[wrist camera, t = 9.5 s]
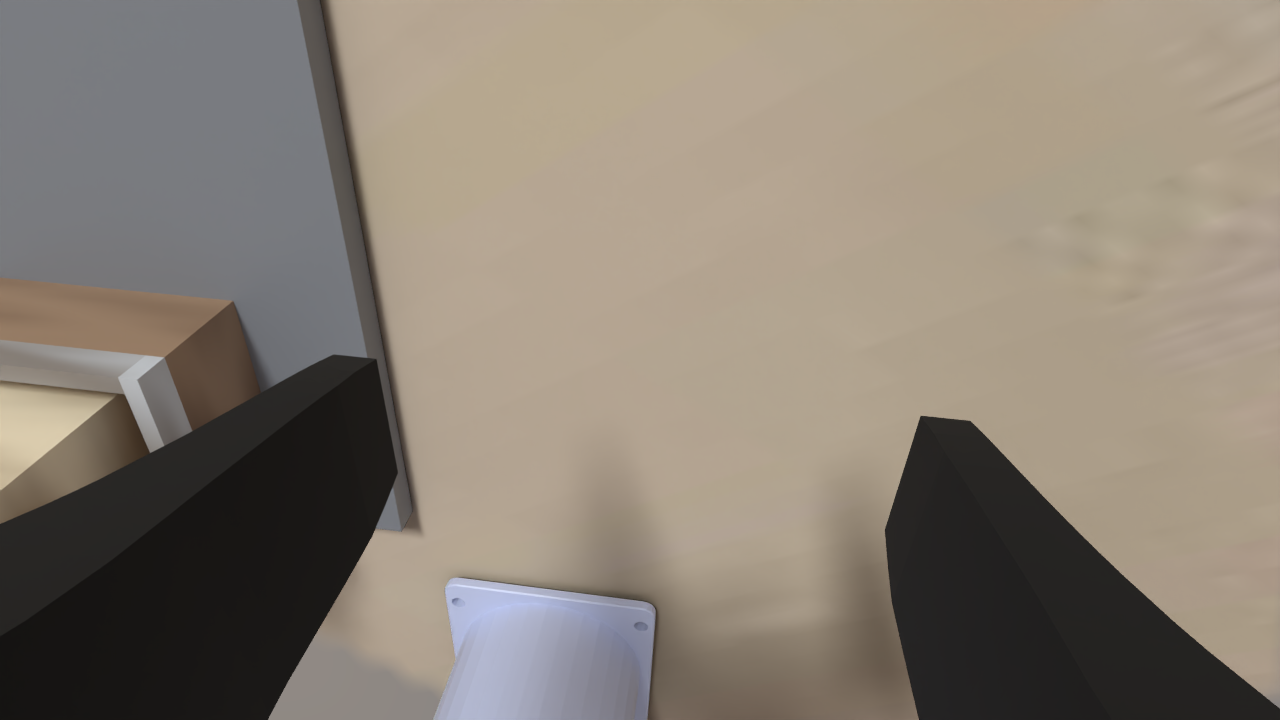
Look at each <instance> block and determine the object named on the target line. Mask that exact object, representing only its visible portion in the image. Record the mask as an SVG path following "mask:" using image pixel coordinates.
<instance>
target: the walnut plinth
mask: <svg viewBox="0 0 1280 720" xmlns="http://www.w3.org/2000/svg"><path fill="white" fill-rule="evenodd" d="M0 380H2V381H11V382H20V383H29V384H38V385H47V386H56V387H65V388H73V389H82V390H91V391H100V392H109V393H118V394H124V395H125V397H126V400H127V402H128V404H129V406H130V409H131V411H132V413H133V415H134V418H135V420H136V422H137V424H138V427H139V429H140V431H141V434H142V436H143V438H144V440H145V443H146V445H147V447H148V449H149V452H150V453H151V452H153V451H155V450H157V449H159V448H161V447H163V446H165V445H167V444H169V443H171V442H173V441H175V440H177V439H179V438H180V437H182V436H184V435H186V434H188V433H190V432H192V431H193V430H195V429H197V428H199V427H201V426H202V425H204V424H206V423H208V422H210V421H211V420H213V419H215V418H217V417H219V416H220V415H222V414H224V413H226V412H228V411H229V410H231V409H233V408H235V407H237V406H238V405H240V404H242V403H244V402H246V401H247V400H249V399H251V398H253V397H254V396H256V395H258V394H260V393H261V391H260V388H259V385H258V381H257V378H256V375H255V371H254V368H253V365H252V361H251V358H250V355H249V351H248V348H247V345H246V342H245V338H244V335H243V332H242V328H241V325H240V322H239V318H238V315H237V312H236V308H235V305H234V302H233V301H230V300H220V299H210V298H200V297H190V296H180V295H170V294H160V293H150V292H140V291H130V290H120V289H110V288H100V287H90V286H80V285H70V284H60V283H50V282H40V281H30V280H19V279H9V278H0Z"/></svg>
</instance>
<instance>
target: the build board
mask: <svg viewBox="0 0 1280 720" xmlns="http://www.w3.org/2000/svg"><path fill="white" fill-rule="evenodd" d="M0 278H9V279H19V280H30V281H40V282H50V283H60V284H70V285H80V286H90V287H100V288H110V289H120V290H130V291H140V292H150V293H160V294H170V295H180V296H190V297H200V298H210V299H220V300H230V301H233V302H234V305H235V308H236V312H237V315H238V318H239V322H240V325H241V328H242V332H243V335H244V338H245V342H246V345H247V348H248V351H249V355H250V358H251V361H252V365H253V368H254V371H255V375H256V378H257V381H258V385H259V388H260V391H261V393H262V392H263V391H265V390H267V389H269V388H270V387H272V386H274V385H276V384H278V383H279V382H281V381H283V380H285V379H286V378H288V377H290V376H292V375H294V374H296V373H297V372H299V371H301V370H303V369H305V368H307V367H309V366H311V365H313V364H315V363H317V362H318V361H321V360H323V359H325V358H327V357H329V356H331V355H333V354H335V355H345V356H354V357H364V358H373V359H377V364H378V369H379V374H380V380H381V385H382V390H383V395H384V401H385V406H386V411H387V417H388V422H389V427H390V432H391V438H392V443H393V448H394V454H395V459H396V464H397V469H398V474H397V477H396V479H395V482H394V485H393V487H392V490H391V492H390V495H389V497H388V500H387V502H386V505H385V507H384V510H383V512H382V514H381V517H380V519H379V521H378V524H377V526H376V528H377V529H385V530H393V531H401V532H402V530H403V528H404V526H405V525H406V523H407V521H408V519H409V517H410V515H411V513H412V511H413V510H412V505H411V499H410V494H409V488H408V483H407V477H406V472H405V466H404V461H403V455H402V450H401V444H400V439H399V433H398V428H397V422H396V417H395V411H394V406H393V400H392V395H391V389H390V383H389V378H388V372H387V367H386V361H385V356H384V350H383V345H382V339H381V334H380V328H379V323H378V317H377V312H376V306H375V301H374V295H373V290H372V284H371V279H370V273H369V268H368V262H367V257H366V251H365V246H364V240H363V235H362V229H361V224H360V218H359V213H358V207H357V202H356V196H355V191H354V185H353V180H352V174H351V169H350V163H349V158H348V152H347V147H346V141H345V136H344V130H343V125H342V119H341V114H340V108H339V103H338V97H337V92H336V86H335V81H334V75H333V70H332V64H331V59H330V53H329V48H328V42H327V37H326V31H325V26H324V20H323V15H322V9H321V4H320V0H0Z"/></svg>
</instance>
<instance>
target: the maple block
mask: <svg viewBox="0 0 1280 720" xmlns="http://www.w3.org/2000/svg"><path fill="white" fill-rule="evenodd" d="M149 453H150V452H149V449H148V447H147V445H146V443H145V440H144V438H143V436H142V434H141V431H140V429H139V427H138V424H137V422H136V420H135V418H134V415H133V413H132V411H131V409H130V406H129V404H128V402H127V400H126V397H125V395H124V394H118V393H109V392H100V391H91V390H82V389H73V388H65V387H56V386H47V385H38V384H29V383H20V382H11V381H2V380H0V524H1V523H4V522H6V521H8V520H10V519H13V518H15V517H17V516H20V515H22V514H24V513H27V512H29V511H31V510H34V509H36V508H38V507H41V506H43V505H45V504H47V503H50V502H52V501H54V500H56V499H58V498H61V497H63V496H65V495H67V494H69V493H71V492H74V491H76V490H78V489H80V488H82V487H84V486H86V485H88V484H90V483H92V482H95V481H97V480H99V479H101V478H103V477H105V476H107V475H109V474H110V473H112V472H114V471H116V470H118V469H120V468H122V467H124V466H126V465H128V464H130V463H132V462H134V461H136V460H138V459H140V458H142V457H144V456H145V455H147V454H149Z"/></svg>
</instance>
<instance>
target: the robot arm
mask: <svg viewBox="0 0 1280 720" xmlns="http://www.w3.org/2000/svg"><path fill="white" fill-rule="evenodd" d="M397 474H398V469H397V464H396V459H395V454H394V448H393V443H392V438H391V432H390V427H389V422H388V417H387V411H386V406H385V401H384V395H383V390H382V385H381V380H380V374H379V369H378V364H377V359H373V358H364V357H354V356H345V355H335V354H333V355H331V356H329V357H327V358H325V359H323V360H321V361H318V362H317V363H315V364H313V365H311V366H309V367H307V368H305V369H303V370H301V371H299V372H297V373H296V374H294V375H292V376H290V377H288V378H286V379H285V380H283V381H281V382H279V383H278V384H276V385H274V386H272V387H270V388H269V389H267V390H265V391H263V392H262V393H260V394H258V395H256V396H254V397H253V398H251V399H249V400H247V401H246V402H244V403H242V404H240V405H238V406H237V407H235V408H233V409H231V410H229V411H228V412H226V413H224V414H222V415H220V416H219V417H217V418H215V419H213V420H211V421H210V422H208V423H206V424H204V425H202V426H201V427H199V428H197V429H195V430H193V431H192V432H190V433H188V434H186V435H184V436H182V437H180V438H179V439H177V440H175V441H173V442H171V443H169V444H167V445H165V446H163V447H161V448H159V449H157V450H155V451H153V452H151V453H149V454H147V455H145V456H144V457H142V458H140V459H138V460H136V461H134V462H132V463H130V464H128V465H126V466H124V467H122V468H120V469H118V470H116V471H114V472H112V473H110V474H109V475H107V476H105V477H103V478H101V479H99V480H97V481H95V482H92V483H90V484H88V485H86V486H84V487H82V488H80V489H78V490H76V491H74V492H71V493H69V494H67V495H65V496H63V497H61V498H58V499H56V500H54V501H52V502H50V503H47V504H45V505H43V506H41V507H38V508H36V509H34V510H31V511H29V512H27V513H24V514H22V515H20V516H17V517H15V518H13V519H10V520H8V521H6V522H4V523H1V524H0V720H268V718H269V716H270V714H271V712H272V711H273V709H274V707H275V705H276V703H277V701H278V699H279V697H280V696H281V694H282V692H283V690H284V688H285V686H286V684H287V682H288V680H289V679H290V677H291V676H292V673H293V672H294V670H295V669H296V667H297V665H298V663H299V662H300V660H301V658H302V657H303V655H304V653H305V652H306V650H307V648H308V646H309V645H310V643H311V641H312V640H313V638H314V636H315V635H316V633H317V631H318V629H319V628H320V626H321V624H322V623H323V621H324V619H325V617H326V616H327V614H328V612H329V611H330V609H331V607H332V605H333V604H334V602H335V600H336V599H337V597H338V595H339V594H340V592H341V590H342V588H343V587H344V585H345V583H346V581H347V580H348V578H349V576H350V574H351V573H352V571H353V569H354V568H355V566H356V564H357V562H358V561H359V559H360V557H361V555H362V554H363V552H364V550H365V548H366V546H367V545H368V543H369V541H370V539H371V537H372V535H373V533H374V531H375V528H376V526H377V524H378V521H379V519H380V517H381V514H382V512H383V510H384V507H385V505H386V502H387V500H388V497H389V495H390V492H391V490H392V487H393V485H394V482H395V479H396V477H397ZM885 537H886V548H887V560H888V571H889V580H890V589H891V598H892V604H893V609H894V613H895V618H896V623H897V627H898V631H899V636H900V640H901V645H902V649H903V653H904V658H905V662H906V666H907V671H908V675H909V679H910V683H911V688H912V692H913V696H914V700H915V705H916V709H917V713H918V717H919V720H1280V709H1279V708H1278V707H1277V706H1276V705H1274V704H1273V703H1272V702H1271V701H1270V700H1268V699H1267V698H1266V697H1265V696H1263V695H1262V694H1261V693H1260V692H1258V691H1257V690H1256V689H1255V688H1253V687H1252V686H1251V685H1250V684H1248V683H1247V682H1246V681H1245V680H1243V679H1242V678H1241V677H1240V676H1238V675H1237V674H1236V673H1235V672H1234V671H1232V670H1231V669H1230V668H1229V667H1227V666H1226V665H1225V664H1224V663H1222V662H1221V661H1220V660H1219V659H1217V658H1216V657H1215V656H1214V655H1212V654H1211V653H1210V652H1209V651H1207V650H1206V649H1205V648H1204V647H1203V646H1202V645H1200V644H1199V643H1198V642H1197V641H1196V640H1195V639H1193V638H1192V637H1191V636H1190V635H1189V634H1188V633H1186V632H1185V631H1184V630H1183V629H1182V628H1181V627H1179V626H1178V625H1177V624H1176V623H1175V622H1174V621H1172V620H1171V619H1170V618H1169V617H1168V616H1167V615H1166V614H1165V613H1164V612H1163V611H1161V610H1160V609H1159V608H1158V607H1157V606H1156V605H1155V604H1154V603H1153V602H1152V601H1150V600H1149V599H1148V598H1147V597H1146V596H1145V595H1144V594H1143V593H1142V592H1141V591H1139V590H1138V589H1137V588H1136V587H1135V586H1134V585H1133V584H1132V583H1131V582H1130V581H1128V580H1127V579H1126V578H1125V577H1124V576H1123V575H1122V574H1121V573H1120V572H1119V571H1118V570H1117V569H1116V568H1115V567H1114V566H1113V565H1111V564H1110V563H1109V562H1108V561H1107V560H1106V559H1105V558H1104V557H1103V556H1102V555H1101V554H1100V553H1099V552H1098V551H1097V550H1096V549H1095V548H1094V547H1093V546H1092V545H1091V544H1090V543H1089V542H1088V541H1087V540H1086V539H1085V538H1084V537H1083V536H1082V535H1081V534H1080V533H1079V532H1078V531H1077V530H1076V529H1075V528H1074V527H1073V526H1072V525H1071V524H1070V523H1069V522H1068V521H1067V520H1066V519H1065V518H1064V517H1063V516H1062V515H1061V514H1060V513H1059V512H1058V511H1057V510H1056V509H1055V508H1054V507H1053V506H1052V505H1051V504H1050V503H1049V502H1048V501H1047V500H1046V499H1045V498H1044V497H1043V496H1042V495H1041V494H1040V493H1039V492H1038V490H1037V489H1036V488H1035V487H1034V486H1033V485H1032V484H1031V483H1030V482H1029V481H1028V480H1027V479H1026V478H1025V477H1024V476H1023V475H1022V474H1021V473H1020V472H1019V471H1018V470H1017V468H1016V467H1015V466H1014V465H1013V464H1012V463H1011V462H1010V461H1009V460H1008V459H1007V458H1006V457H1005V456H1004V455H1003V454H1002V453H1001V452H1000V451H999V450H998V448H997V447H996V446H995V445H994V444H993V443H992V442H991V441H990V440H989V439H988V438H987V437H986V436H985V435H984V434H983V433H982V432H981V431H980V430H979V429H978V428H977V427H976V426H975V425H974V424H973V423H972V422H971V421H965V420H956V419H946V418H937V417H927V416H921V417H920V420H919V423H918V426H917V429H916V433H915V436H914V439H913V442H912V445H911V448H910V452H909V455H908V458H907V461H906V464H905V468H904V471H903V474H902V477H901V480H900V484H899V487H898V490H897V493H896V496H895V499H894V503H893V506H892V509H891V512H890V515H889V519H888V522H887V525H886V528H885ZM445 595H446V602H447V608H448V614H449V620H450V626H451V633H452V639H453V645H454V651H455V657H456V661H455V663H454V666H453V668H452V671H451V674H450V676H449V679H448V682H447V684H446V687H445V690H444V692H443V695H442V698H441V700H440V703H439V706H438V708H437V711H436V714H435V717H434V719H433V720H647V719H648V706H649V693H650V681H651V668H652V655H653V642H654V630H655V617H656V610H655V608H654V607H653V605H651V604H650V603H648V602H644V601H637V600H629V599H622V598H614V597H606V596H598V595H591V594H583V593H575V592H567V591H559V590H552V589H544V588H536V587H528V586H521V585H513V584H505V583H497V582H490V581H482V580H474V579H466V578H452V579H450V580H449V581H448V583H447V585H446V587H445Z"/></svg>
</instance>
